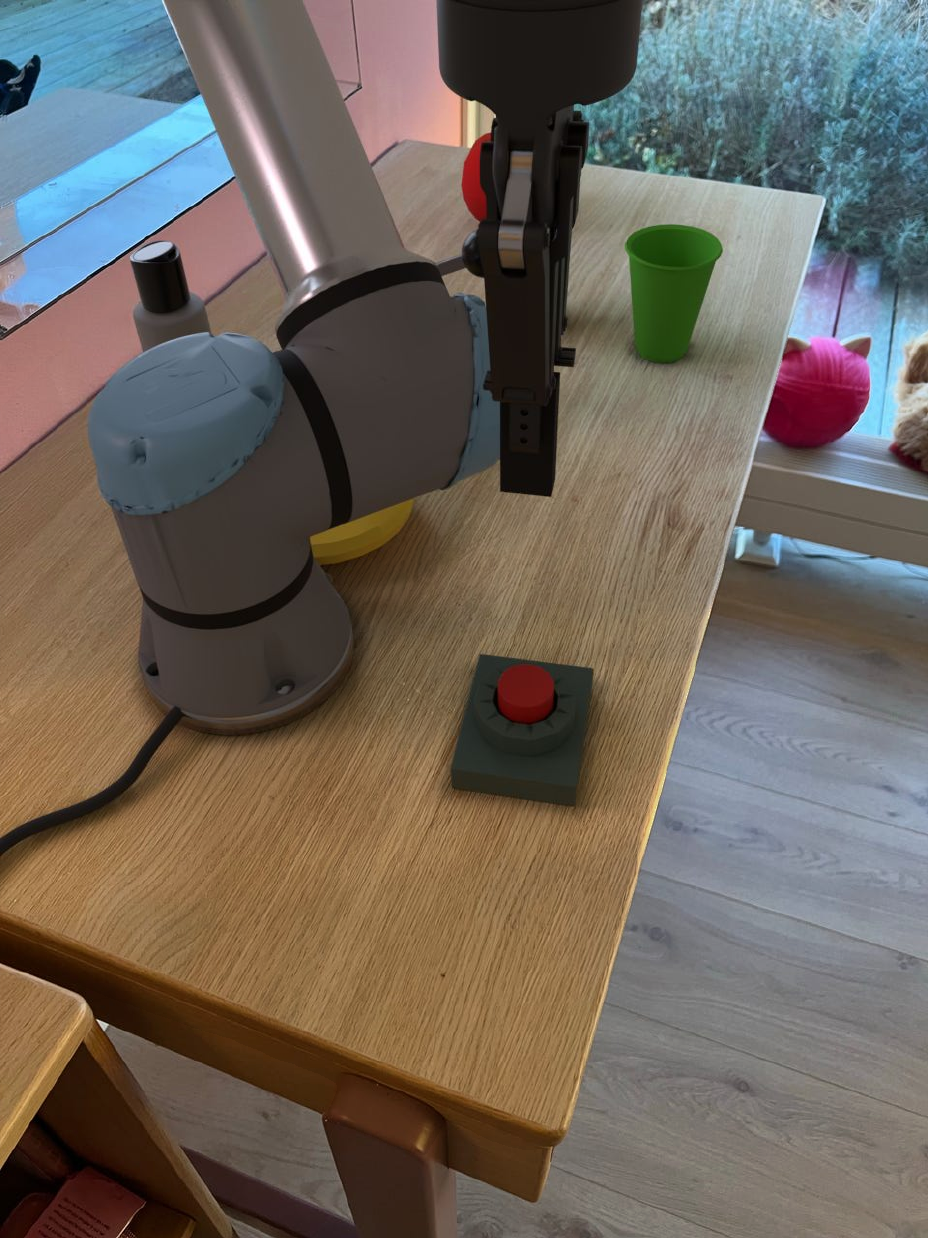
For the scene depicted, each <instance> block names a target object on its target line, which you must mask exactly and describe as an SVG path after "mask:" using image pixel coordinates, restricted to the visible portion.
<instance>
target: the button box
mask: <svg viewBox="0 0 928 1238" xmlns="http://www.w3.org/2000/svg"><path fill="white" fill-rule="evenodd" d="M522 664H528V665H534V666H538V667H540V668H542V669H544V670H545V671H546V672H548V673H549V675H550V676H551V677H552V679H553V682H554V699H553V708H552V710H551V712H550V713H549V714H548V716H546V717H545V718H544V719H542V720H540V721H538V722H535V723H530V724H522V723H517V722H514V721H511V720H510V719H508V718H507V717H505V716H504V715H503V714H502V712H501V711H500V709H499V707H498V681H499V678H500V676H501V675H502V674H503V673H504V672H505V671H506V670H507V669H509V668H511V667H513V666H516V665H522ZM594 670H595V669H594V668H593V667H587V666H579V665H570V664H562V663H556V662H546V661H539V660H531V659H523V658H517V657H516V658H515V657H508V656H500V655H492V654H486V653H485V654H484V653H479V654H478V660H477V662H476V666H475V670H474V674H473V679H472V682H471V687H470V690H469V694H468V697H467V698H468V699H467V701H466V702H467V703H466V706H465V709H464V715H463V718H462V723H461V725H460V729H459V732H458V733H459V734H458V736H457V737H458V738H457V742H456V746H455V750H454V753H453V756H452V761H451V767H450V778H451V779H450V780H451V781H450V782H451V789H454V790H462V791H468V792H475V793H481V794H487V795H489V794H490V795H493V796H494V795H495V796H501V797H507V798H515V799H522V800H528V801H535V802H542V803H548V804H556V805H561V806H568V807H575V806H576V803H577V795H578V787H579V782H580V774H581V768H582V760H583V754H584V747H585V746H584V745H585V740H586V732H587V725H588V718H589V713H590V704H591V697H592V691H593V682H594Z"/></svg>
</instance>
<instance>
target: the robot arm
mask: <svg viewBox="0 0 928 1238" xmlns="http://www.w3.org/2000/svg"><path fill="white" fill-rule="evenodd" d="M161 1H162V4H163V7H164V8H165V11H166V14H167V16H168V18H169V21H170V23H171V26H172V28H173V30H174V33H175V36H176V37H177V41H178V42H179V45H180V48H181V49H182V52H183V54H184V57H185V59H186V61H187V64H188V67H189V69H190V71H191V74H192V76H193V79H194V81H195V83H196V86H197V89H198V90H199V93H200V96H201V98H202V100H203V103H204V105H205V106H206V110H207V113H208V114H209V117H210V120H211V122H212V124H213V127H214V129H215V132H216V134H217V136H218V139H219V142H220V143H221V147H222V148H223V150H224V153H225V156H226V158H227V160H228V163H229V165H230V168H231V170H232V173H233V175H234V177H235V180H236V183H237V185H238V188H239V190H240V192H241V194H242V197H243V199H244V202H245V204H246V206H247V209H248V211H249V214H250V215H251V219H252V221H253V223H254V226H255V229H256V231H257V233H258V235H259V238H260V240H261V242H262V245H263V248H264V250H265V253H266V255H267V257H268V260H269V262H270V264H271V267H272V269H273V272H274V274H275V276H276V279H277V281H278V284H279V286H280V288H281V291H282V293H283V296H284V297H285V298H284V299H285V302H284V305H283V307H282V310H281V312H280V314H279V317H278V318H277V321H276V323H275V326H274V332H275V335H276V339H277V342H278V344H279V346H280V348H281V349H280V350H276V351H273V352H272V351H271V349H270V348H269V347H267V345H265V344H264V343H263V342H262V341H260V340H258V339H256V338H255V337H252V336H250V335H246V334H243V333H237V332H231V331H224V332H223V333H220V334H219V335H218V336H214V335H213V334H212V332H211V333H209V332H206V333H198V334H193V335H188V336H184V337H180V338H176V339H173V340H170V341H168V342H165V343H162V344H160V345H157V346H155V347H153V348H151V349H149V350H147V351H145V352H143V351H142V352H141V353H140V354H138V355H137V356H135V357H133V358H132V359H130V360H129V361H128V362H126V363H125V364H124V365H122V366H121V367H120V368H119V369H117V370H116V372H114V373H113V374H112V375H111V376H110V377H109V378H108V380H107V381H106V383H105V385H104V387H103V388H102V389H101V390H100V391H99V392H98V393H97V395H96V397H95V398H94V400H93V402H92V404H91V407H90V410H89V414H88V417H87V419H88V420H87V438H88V442H89V443H88V444H89V447H90V450H91V453H92V458H93V461H94V464H95V468H96V480H97V485H98V488H99V491H100V492H101V495H102V497H103V499H104V500H105V502H106V503H107V505H109V506H110V508H111V511H112V514H113V517H114V520H115V523H116V525H117V528H118V531H119V534H120V536H121V541H122V543H123V546H124V548H125V551H126V554H127V557H128V560H129V562H130V563H129V564H130V566H131V568H132V572H133V574H134V577H135V579H136V582H137V585H138V588H139V591H140V593H141V596H142V603H141V615H140V626H139V627H140V628H139V640H138V650H137V657H138V659H137V660H138V661H137V662H138V666H139V671H140V674H141V676H142V679H143V682H144V685H145V687H146V689H147V691H148V693H149V696H150V698H151V699H152V701H153V702H154V704H155V705H156V707H157V708H158V709H159V710H160V711H161V712H162V713H164V714H165V715H166V716H165V717H164V718H163V720H162V721H161V722H160V723H159V724H158V726H157V727H156V728H155V730H154V731H153V732H152V733H151V735H150V736H149V737H148V738H147V740H146V741H145V742H144V744H143V745H142V746H141V748H140V750H139V751H138V752H137V754H136V756H135V757H134V759H133V760H132V762H131V763H130V765H129V766H128V768H127V769H126V770H125V771H124V772H123V774H122V775H121V776H119V778H118V779H117V780H115V781H114V782H113V783H111V785H109V786H108V787H106V788H105V789H102V791H101V790H100V791H99V792H98V793H96V794H95V795H93V796H91V797H89V798H86V799H84V800H82V801H79V802H77V803H75V804H72V805H69V806H66V807H63V808H61V809H57V810H55V811H52V812H50V813H47V814H44V815H41V816H39V817H36V818H34V819H31V820H29V821H27V822H24V823H23V824H21V825H19V826H16V827H14V828H13V829H11V830H10V831H8V832H7V833H6V834H4V835H2V836H1V837H0V858H1V857H2V856H3V855H4V854H6V853H7V852H8V851H9V850H10V849H12V848H13V847H14V846H16V845H17V844H19V843H22V841H25V840H27V839H28V838H30V837H32V836H34V835H37V834H40V833H41V832H44V831H47V830H50V829H51V828H54V827H58V826H61V825H63V824H66V823H68V822H71V821H74V820H76V819H79V818H83V817H84V816H86V815H89V814H91V813H94V812H96V811H98V810H100V809H101V808H103V807H105V806H107V805H108V804H110V803H112V802H113V801H115V800H116V799H117V798H119V797H120V796H122V795H123V794H124V793H125V792H126V791H128V789H130V788H131V787H132V786H133V785H134V784H135V783H136V781H137V780H138V779H139V778H140V776H141V775H142V774H143V772H144V770H145V769H146V767H147V766H148V764H149V763H150V761H151V759H152V758H153V756H154V755H155V754H156V752H157V750H158V749H159V748H160V747H161V746H162V744H163V743H164V741H166V739H167V738H168V736H169V735H170V734H171V732H172V731H173V730H174V729H175V727H176V726H177V725H178V724H180V725H182V726H184V727H187V728H189V729H192V730H196V731H198V732H202V733H207V734H213V735H223V736H225V735H226V736H237V735H249V734H256V733H260V732H266V731H269V730H272V729H276V728H279V727H281V726H284V725H287V724H290V723H291V722H294V721H296V720H298V719H300V718H302V717H303V716H305V715H308V714H309V713H310V712H311V711H313V710H315V709H316V708H318V707H319V706H321V705H322V703H324V702H325V701H326V700H327V699H328V698H329V697H330V696H331V695H332V694H333V693H334V692H335V691H336V690H337V689H338V687H339V686H340V684H341V683H342V682H343V681H344V679H345V677H346V675H347V673H348V671H349V668H350V666H351V664H352V661H353V657H354V648H355V647H354V646H355V641H354V633H353V626H352V621H351V614H350V611H349V609H348V606H347V604H346V603H345V601H344V599H343V598H342V597H341V594H340V593H339V592H338V591H337V589H335V587H334V586H333V578H332V574H329V573H327V572H325V571H324V570H323V567H321V565H319V564H318V562H317V561H316V559H315V558H314V556H313V552H312V547H311V541H310V537H311V536H313V535H316V534H319V533H322V532H324V531H327V530H329V529H332V528H334V527H337V526H340V525H342V524H346V523H349V522H351V521H354V520H357V519H359V518H362V517H365V516H367V515H370V514H373V513H375V512H378V511H381V510H383V509H386V508H388V507H391V506H394V505H397V504H399V503H402V502H405V501H408V500H410V499H413V498H414V499H415V498H419V497H421V496H424V495H427V494H429V493H431V492H435V491H437V490H440V491H447V490H449V489H451V488H453V486H455V485H456V484H458V482H462V481H463V480H466V479H467V478H471V477H473V476H475V475H477V474H479V473H482V472H484V471H486V470H488V469H489V468H491V467H493V466H494V465H495V464H497V462H499V492H500V493H508V494H517V495H527V496H536V497H546V498H547V497H548V498H552V495H553V492H554V486H555V482H556V470H557V469H556V468H557V448H558V428H559V407H560V405H559V404H560V387H561V372H560V371H555V367H564V368H574V367H575V361H576V354H577V348H576V347H567V346H566V347H565V346H562V336H563V335H564V333H565V332H566V330H567V328H568V325H569V323H568V322H569V317H568V316H567V305H568V304H567V303H568V292H569V291H568V290H569V277H570V263H571V250H572V249H571V248H572V237H573V235H572V234H573V229H574V228H575V226H576V221H577V219H578V214H579V209H580V193H581V191H580V190H581V179H582V178H581V177H582V170H583V168H584V166H585V164H586V163H585V162H586V160H587V155H588V152H589V138H590V122H589V121H584V119H583V113H582V110H575V105H581V106H583V107H585V106H589V105H593V104H596V103H600V102H602V101H604V100H608V99H609V98H612V97H613V96H615V95H617V94H619V93H620V92H621V91H623V90H624V89H625V88H626V87H627V86H628V85H629V84H630V83H631V82H632V80H633V78H634V76H635V74H636V71H637V67H638V57H639V44H640V34H641V22H642V13H643V12H642V11H643V0H435V2H436V3H435V4H436V26H437V49H438V69H439V74H440V78H441V79H442V81H443V83H444V84H445V86H446V87H447V88H448V89H449V90H450V91H451V92H453V93H454V94H455V95H457V96H458V97H459V98H462V99H464V100H466V101H469V102H477V103H479V104H481V105H483V106H485V107H486V108H487V109H489V111H491V112H492V113H493V114H494V115H495V117H494V118H493V119H492V121H491V126H490V132H491V142H485V141H483V142H482V144H481V149H480V186H481V189H482V190H483V192H484V193H485V195H486V219H481V222H479V224H478V227H477V229H476V230H477V233H476V242H477V243H478V248H479V254H480V259H481V263H482V268H483V273H484V278H483V282H484V283H483V284H484V295H485V296H484V297H485V301H484V300H483V299H482V298H481V297H480V296H478V295H475V294H470V293H467V294H466V293H462V292H458V293H455V294H453V295H452V296H451V295H450V293H449V291H448V289H447V286H446V283H445V282H444V279H443V276H441V274H440V272H439V269H438V267H437V265H436V263H437V262H435V261H433V260H432V259H430V258H427V257H425V256H422V255H420V254H417V253H416V252H415V253H414V252H413V251H410V250H408V249H406V247H405V245H404V241H403V240H402V238H401V235H400V232H399V231H398V227H397V225H396V223H395V221H394V218H393V216H392V213H391V210H390V208H389V206H388V204H387V201H386V199H385V196H384V194H383V192H382V189H381V186H380V184H379V182H378V179H377V176H376V175H375V172H374V169H373V168H372V165H371V162H370V160H369V157H368V155H367V153H366V150H365V148H364V145H363V142H362V141H361V138H360V136H359V133H358V131H357V128H356V126H355V123H354V121H353V119H352V116H351V114H350V111H349V109H348V106H347V105H346V102H345V99H344V97H343V94H342V92H341V90H340V87H339V84H338V83H337V80H336V78H335V75H334V72H333V70H332V67H331V65H330V63H329V61H328V58H327V55H326V53H325V51H324V49H323V46H322V43H321V41H320V39H319V36H318V34H317V31H316V28H315V27H314V24H313V21H312V19H311V17H310V14H309V12H308V9H307V6H306V4H305V3H304V0H161Z"/></svg>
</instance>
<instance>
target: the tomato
mask: <svg viewBox="0 0 928 1238" xmlns="http://www.w3.org/2000/svg"><path fill="white" fill-rule="evenodd" d="M483 141H485V142H491V131H490V132H486V133H484V134H482V135H481V136H479V137H478V138H477V139H476V140H474V142H473V144H472V145H471V147H470V149H469V152H468V154H467V156H466V158H465V159H464V161H463V168H462V176H461V185H460V186H461V192H462V197H463V201H464V203H465V206H466V208H467V210H468V211H469V213H470V214H471V215H472V216H473V218H474V219H475V220H476V221H478V222H479V223H480V222H481V219H486V195H485V193H484V192H483V190H482V189H481V186H480V149H481V144H482V142H483Z"/></svg>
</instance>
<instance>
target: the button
mask: <svg viewBox="0 0 928 1238" xmlns="http://www.w3.org/2000/svg"><path fill="white" fill-rule="evenodd" d="M553 699H554V682H553V679H552V677H551V676H550V675H549V673H548V672H546V671H545V670H544V669H542V668H540V667H538V666H534V665H528V664H522V665H516V666H513V667H511V668H509V669H507V670H506V671H505V672H504V673H503V674H502V675H501V676H500V678H499V681H498V707H499V709H500V711H501V712H502V714H503V715H504V716H505V717H507V718H508V719H510V720H511V721H514V722H517V723H522V724H530V723H535V722H538V721H540V720H542V719H544V718H545V717H546V716H548V714H549V713H550V712H551V710H552V708H553Z"/></svg>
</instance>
